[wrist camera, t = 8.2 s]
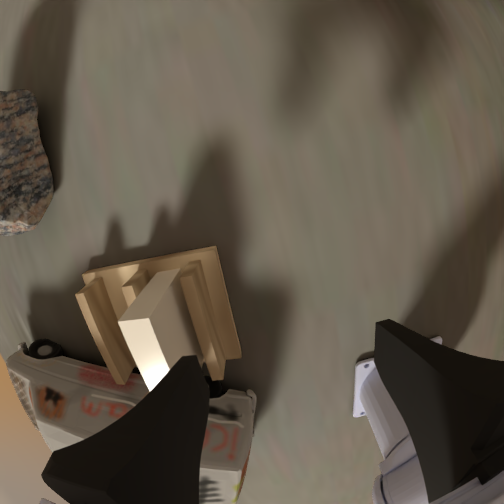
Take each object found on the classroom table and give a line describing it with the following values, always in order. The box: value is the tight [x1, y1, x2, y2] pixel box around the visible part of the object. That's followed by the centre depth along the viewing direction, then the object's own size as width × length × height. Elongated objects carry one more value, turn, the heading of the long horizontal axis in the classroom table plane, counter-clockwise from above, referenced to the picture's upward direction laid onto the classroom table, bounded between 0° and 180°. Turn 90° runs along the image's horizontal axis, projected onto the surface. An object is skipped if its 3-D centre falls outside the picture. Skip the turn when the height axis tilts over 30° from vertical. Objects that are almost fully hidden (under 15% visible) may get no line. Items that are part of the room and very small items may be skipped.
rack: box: [75, 246, 241, 385], centre depth 20 cm, size 11×9×4 cm
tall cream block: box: [118, 268, 204, 391], centre depth 17 cm, size 2×7×7 cm, turn 11°
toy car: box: [6, 339, 256, 504], centre depth 20 cm, size 11×25×10 cm, turn 84°
